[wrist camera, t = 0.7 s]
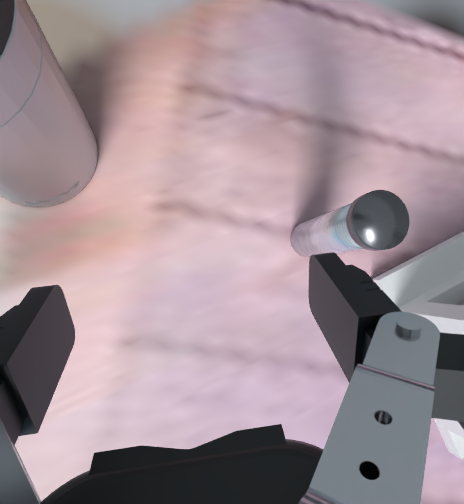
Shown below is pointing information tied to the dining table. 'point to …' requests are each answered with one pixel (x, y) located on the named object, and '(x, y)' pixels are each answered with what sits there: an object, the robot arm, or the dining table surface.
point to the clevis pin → (355, 226)
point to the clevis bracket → (433, 303)
